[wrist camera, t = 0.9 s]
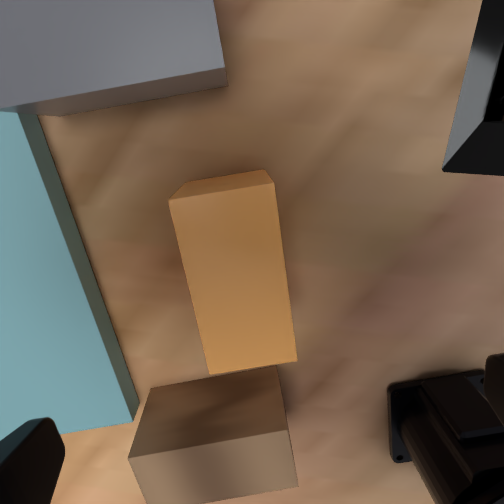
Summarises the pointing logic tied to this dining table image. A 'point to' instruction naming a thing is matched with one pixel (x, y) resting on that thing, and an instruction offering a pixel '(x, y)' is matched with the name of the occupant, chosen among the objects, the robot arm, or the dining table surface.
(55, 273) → the teal board
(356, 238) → the dining table surface
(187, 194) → the orange brick
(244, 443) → the walnut brick
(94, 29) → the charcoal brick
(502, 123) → the black angular block
